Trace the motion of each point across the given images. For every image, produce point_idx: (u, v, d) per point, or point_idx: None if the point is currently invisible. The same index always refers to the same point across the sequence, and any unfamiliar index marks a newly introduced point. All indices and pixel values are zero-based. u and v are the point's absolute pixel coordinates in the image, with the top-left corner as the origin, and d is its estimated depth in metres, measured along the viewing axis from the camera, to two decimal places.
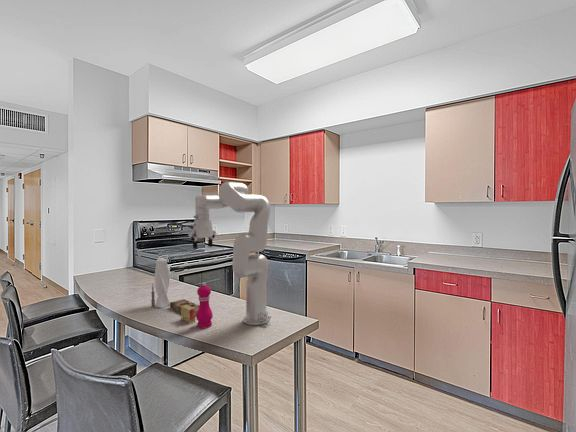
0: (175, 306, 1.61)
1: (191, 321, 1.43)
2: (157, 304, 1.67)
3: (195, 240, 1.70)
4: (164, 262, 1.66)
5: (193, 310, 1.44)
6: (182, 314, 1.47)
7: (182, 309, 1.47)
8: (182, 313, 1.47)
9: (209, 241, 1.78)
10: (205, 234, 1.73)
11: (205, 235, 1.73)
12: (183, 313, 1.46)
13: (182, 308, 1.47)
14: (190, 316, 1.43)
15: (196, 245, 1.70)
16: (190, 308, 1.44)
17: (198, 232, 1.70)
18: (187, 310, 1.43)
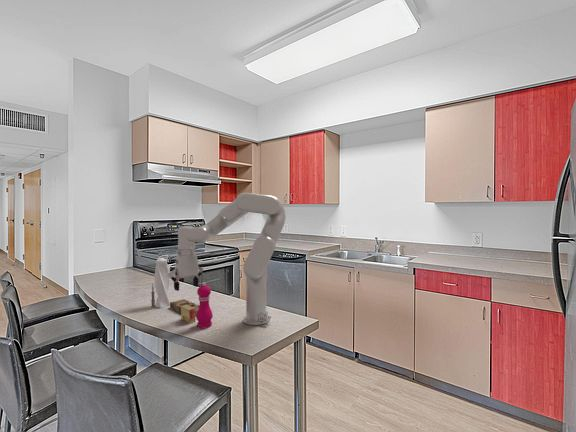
0: (175, 306, 1.61)
1: (191, 321, 1.43)
2: (157, 304, 1.67)
3: (177, 281, 1.41)
4: (164, 262, 1.66)
5: (193, 310, 1.44)
6: (182, 314, 1.47)
7: (182, 309, 1.47)
8: (182, 313, 1.47)
9: (194, 280, 1.49)
10: (189, 273, 1.44)
11: (189, 274, 1.44)
12: (183, 313, 1.46)
13: (182, 308, 1.47)
14: (190, 316, 1.43)
15: (178, 287, 1.41)
16: (190, 308, 1.44)
17: (180, 271, 1.41)
18: (187, 310, 1.43)
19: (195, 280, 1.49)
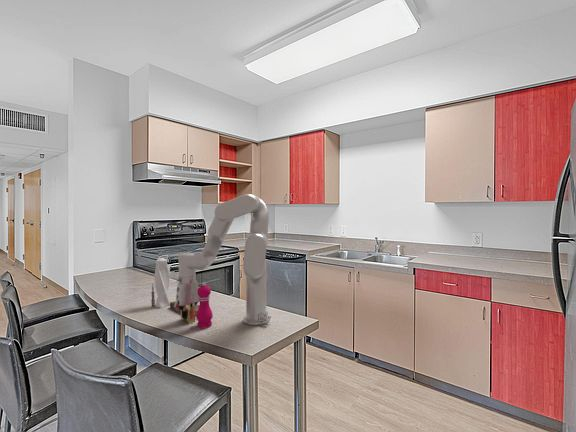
0: None
1: (191, 321, 1.43)
2: (157, 304, 1.67)
3: (184, 309, 1.44)
4: (164, 262, 1.66)
5: (193, 310, 1.44)
6: None
7: None
8: None
9: None
10: (190, 300, 1.44)
11: (190, 301, 1.44)
12: None
13: None
14: (190, 316, 1.43)
15: (185, 315, 1.44)
16: (190, 308, 1.44)
17: (182, 299, 1.41)
18: (187, 310, 1.43)
19: None
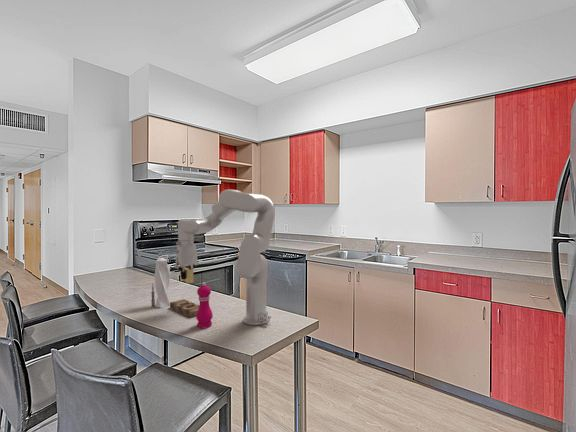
0: (175, 306, 1.61)
1: (189, 281, 1.56)
2: (157, 304, 1.67)
3: (183, 270, 1.57)
4: (164, 262, 1.66)
5: (191, 271, 1.57)
6: None
7: None
8: None
9: None
10: (189, 262, 1.57)
11: (189, 263, 1.57)
12: None
13: None
14: (188, 276, 1.56)
15: (184, 276, 1.57)
16: (188, 269, 1.57)
17: (181, 260, 1.54)
18: (186, 271, 1.56)
19: None
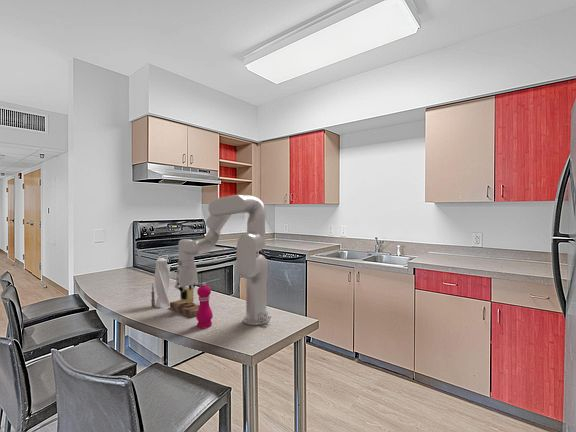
0: (175, 306, 1.61)
1: (189, 301, 1.57)
2: (157, 304, 1.67)
3: (183, 290, 1.57)
4: (164, 262, 1.66)
5: (191, 291, 1.58)
6: None
7: None
8: None
9: None
10: (189, 282, 1.58)
11: (189, 283, 1.58)
12: None
13: None
14: (189, 296, 1.57)
15: (185, 296, 1.58)
16: (189, 289, 1.58)
17: (181, 280, 1.55)
18: (186, 291, 1.57)
19: None
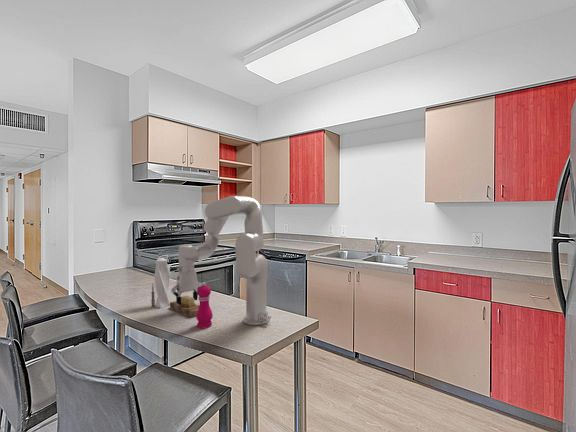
0: (175, 306, 1.61)
1: None
2: (157, 304, 1.67)
3: (179, 295, 1.55)
4: (164, 262, 1.66)
5: (192, 300, 1.58)
6: (182, 304, 1.61)
7: (182, 299, 1.61)
8: (182, 303, 1.61)
9: (194, 294, 1.63)
10: (189, 287, 1.58)
11: (189, 289, 1.58)
12: (183, 303, 1.60)
13: (182, 298, 1.61)
14: (189, 305, 1.57)
15: (180, 301, 1.55)
16: (189, 298, 1.58)
17: (181, 286, 1.55)
18: (187, 300, 1.57)
19: (195, 294, 1.63)
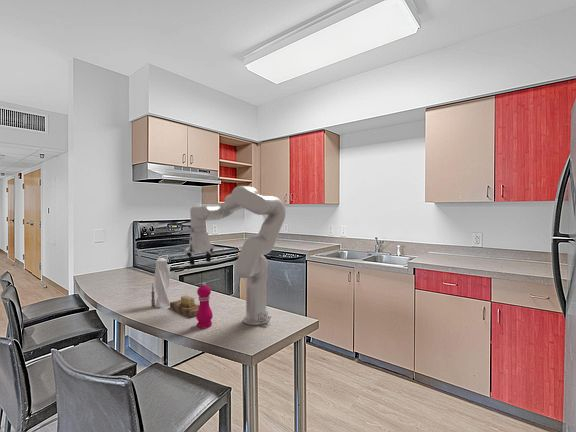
0: (175, 306, 1.61)
1: None
2: (157, 304, 1.67)
3: (192, 255, 1.55)
4: (164, 262, 1.66)
5: (192, 300, 1.58)
6: (182, 304, 1.61)
7: (182, 299, 1.61)
8: (182, 303, 1.61)
9: (207, 256, 1.64)
10: (202, 248, 1.58)
11: (202, 249, 1.58)
12: (183, 303, 1.60)
13: (182, 298, 1.61)
14: (189, 305, 1.57)
15: (193, 261, 1.56)
16: (189, 298, 1.58)
17: (195, 246, 1.55)
18: (187, 300, 1.57)
19: (208, 256, 1.63)
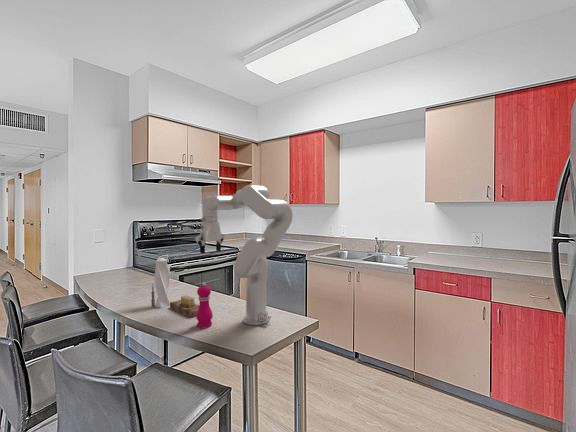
0: (175, 306, 1.61)
1: None
2: (157, 304, 1.67)
3: (202, 244, 1.57)
4: (164, 262, 1.66)
5: (192, 300, 1.58)
6: (182, 304, 1.61)
7: (182, 299, 1.61)
8: (182, 303, 1.61)
9: (217, 245, 1.65)
10: (213, 238, 1.60)
11: (213, 239, 1.60)
12: (183, 303, 1.60)
13: (182, 298, 1.61)
14: (189, 305, 1.57)
15: (203, 250, 1.57)
16: (189, 298, 1.58)
17: (206, 235, 1.57)
18: (187, 300, 1.57)
19: (218, 245, 1.65)
